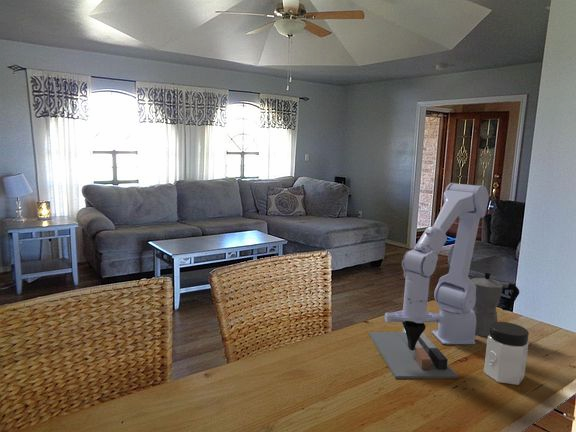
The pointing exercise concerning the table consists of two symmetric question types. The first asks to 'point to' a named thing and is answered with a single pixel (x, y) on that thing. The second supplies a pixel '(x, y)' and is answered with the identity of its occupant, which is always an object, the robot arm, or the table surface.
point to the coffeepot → (490, 302)
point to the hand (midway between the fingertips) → (411, 348)
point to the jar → (506, 352)
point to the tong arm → (419, 353)
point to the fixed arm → (433, 352)
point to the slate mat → (404, 358)
